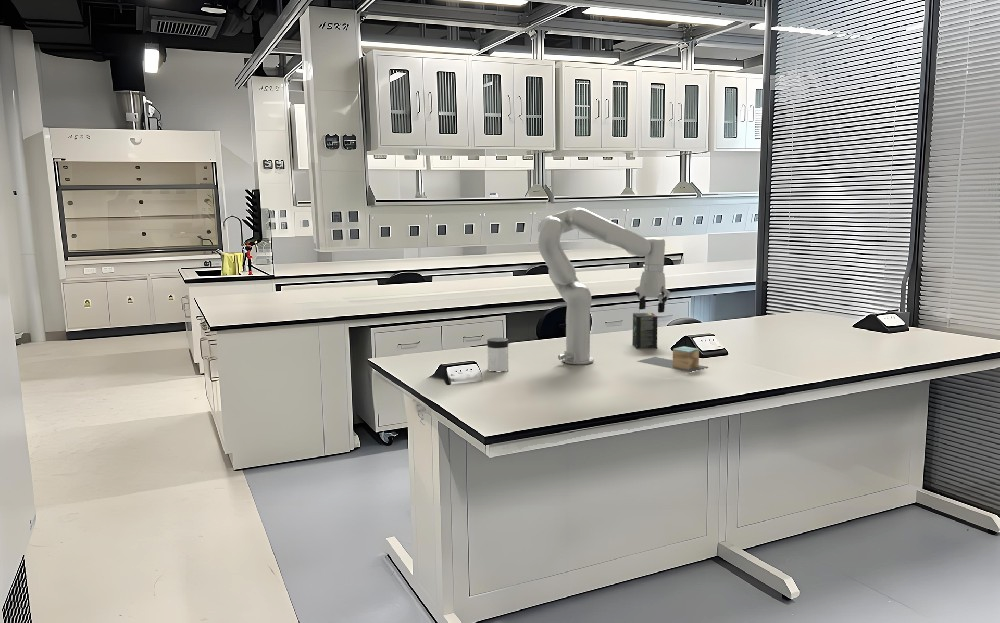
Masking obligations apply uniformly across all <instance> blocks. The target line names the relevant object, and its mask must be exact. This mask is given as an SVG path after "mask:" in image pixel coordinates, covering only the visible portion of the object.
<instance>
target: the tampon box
mask: <svg viewBox="0 0 1000 623" xmlns="http://www.w3.org/2000/svg"><path fill="white" fill-rule="evenodd" d="M631 343H632V346H633V347H634V348H635V349H636V350H639V349H656V350H657V349H658V316H657V315H656V314H655V313H653V312H649V313H648V312H647V313H646V312H640V313H638V312H633V313H632V342H631Z"/></svg>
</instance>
